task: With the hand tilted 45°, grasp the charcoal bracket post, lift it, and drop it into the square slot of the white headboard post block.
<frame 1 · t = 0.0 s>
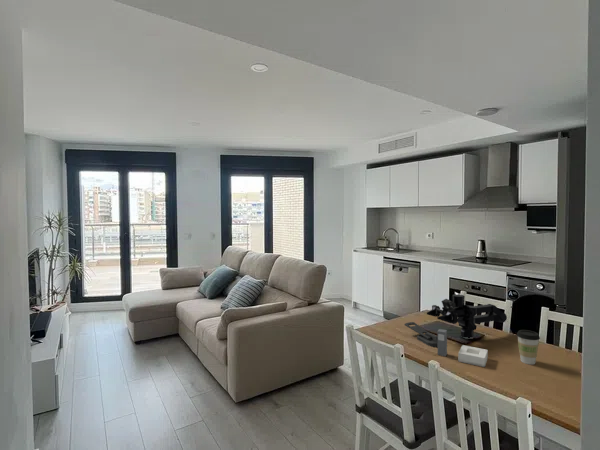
hand: (432, 315, 198), 17 cm above the table, tool horizontal, fingers open, 9 cm apart
bracket post: (442, 354, 184), on the table
headboard post block: (473, 359, 176), on the table
coffee cup: (527, 362, 173), on the table
zipper pull: (422, 339, 206), on the table
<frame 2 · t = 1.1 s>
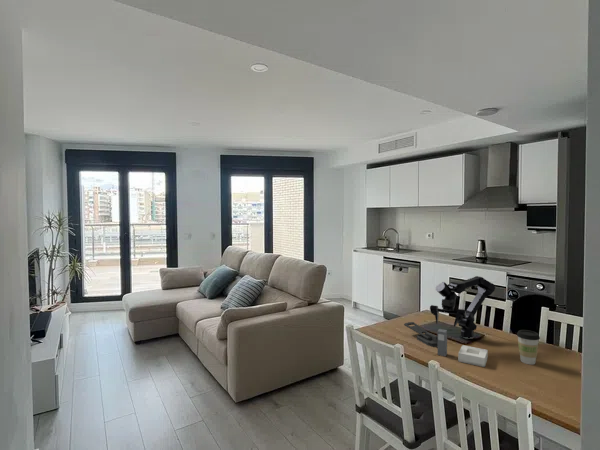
hand: (445, 325, 190), 14 cm above the table, tool tilted 45°, fingers open, 9 cm apart
nothing on the table moved.
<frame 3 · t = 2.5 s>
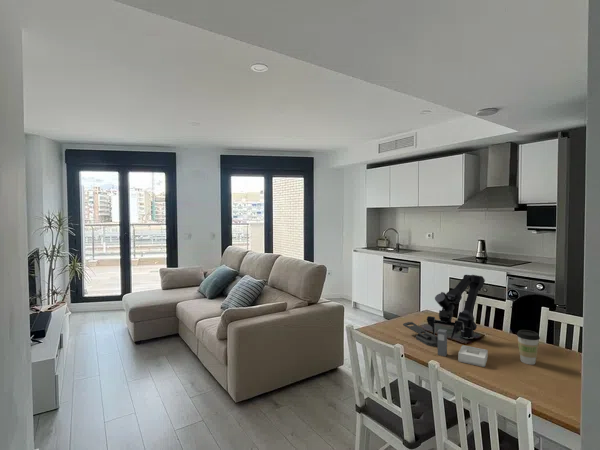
hand: (442, 337, 185), 9 cm above the table, tool tilted 45°, fingers open, 9 cm apart
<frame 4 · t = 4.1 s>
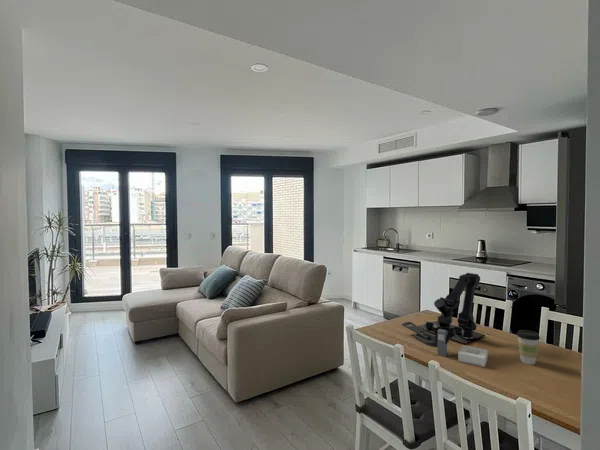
hand: (441, 343, 182), 7 cm above the table, tool tilted 45°, fingers closed on bracket post, 4 cm apart
bracket post: (442, 354, 184), on the table, touching gripper
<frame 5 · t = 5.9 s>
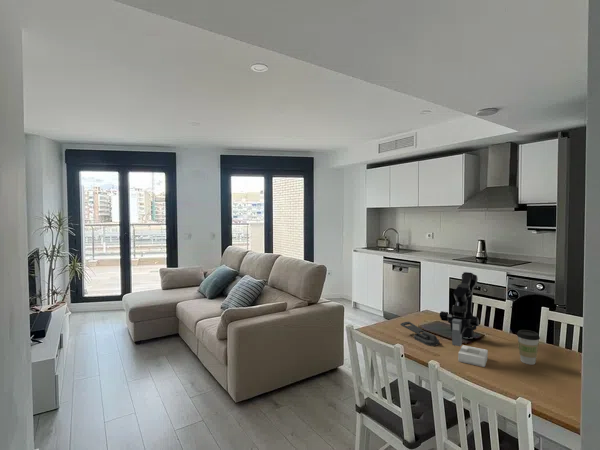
hand: (456, 332, 178), 13 cm above the table, tool tilted 45°, fingers closed on bracket post, 4 cm apart
bracket post: (457, 344, 180), point 7 cm above the table, touching gripper
when the fingers open (8 cm above the table, at t = 7.9 s): bracket post stays where it is, resting on headboard post block.
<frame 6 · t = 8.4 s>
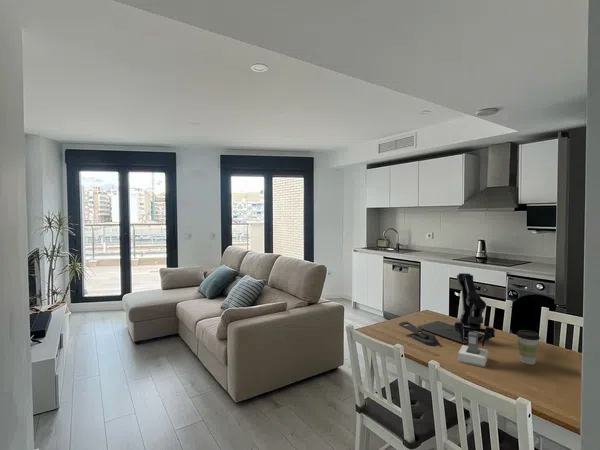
hand: (472, 344, 175), 9 cm above the table, tool tilted 45°, fingers open, 9 cm apart
bracket post: (473, 358, 176), point 1 cm above the table, touching headboard post block
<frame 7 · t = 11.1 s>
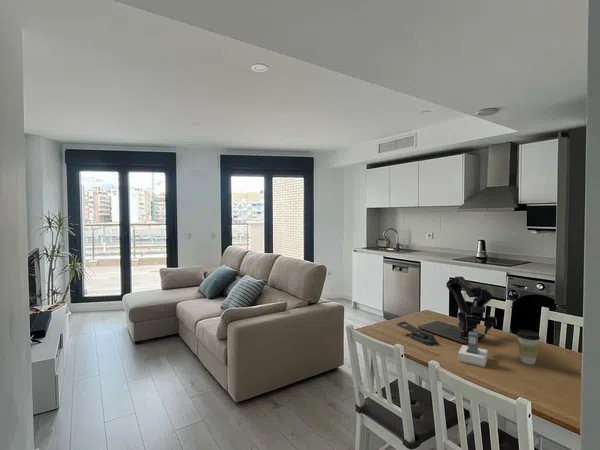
hand: (475, 333, 182), 12 cm above the table, tool tilted 45°, fingers open, 9 cm apart
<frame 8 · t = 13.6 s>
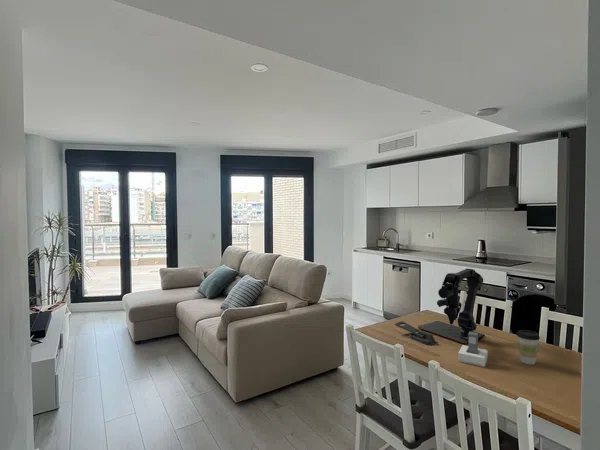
hand: (452, 322, 196), 13 cm above the table, tool pointing down, fingers open, 9 cm apart
at the end: bracket post 0.0 cm off-centre on the headboard post block, point 1.0 cm above the headboard post block's base; bracket post tilted 0°; the gripper is holding nothing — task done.
